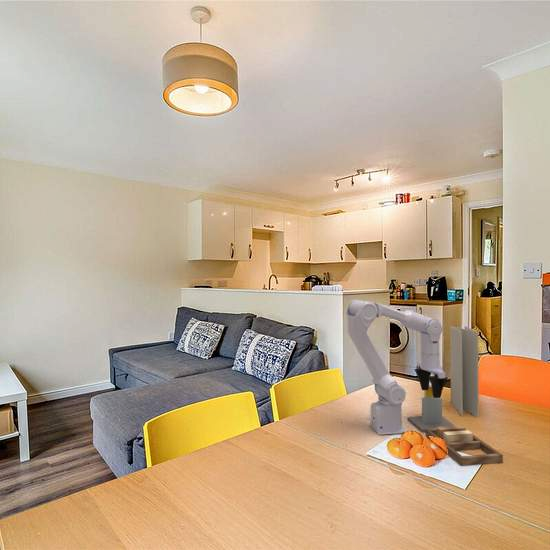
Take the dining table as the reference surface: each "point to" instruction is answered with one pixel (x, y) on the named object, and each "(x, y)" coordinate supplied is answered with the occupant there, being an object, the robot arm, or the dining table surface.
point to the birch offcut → (458, 436)
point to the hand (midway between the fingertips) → (430, 393)
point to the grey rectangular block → (431, 410)
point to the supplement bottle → (428, 391)
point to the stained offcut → (448, 430)
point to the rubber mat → (422, 426)
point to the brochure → (464, 369)
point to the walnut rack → (452, 448)
